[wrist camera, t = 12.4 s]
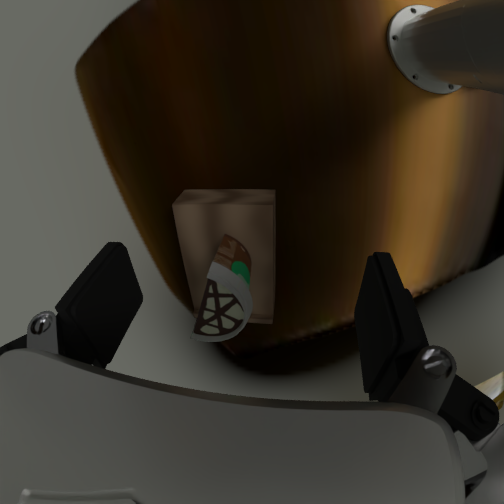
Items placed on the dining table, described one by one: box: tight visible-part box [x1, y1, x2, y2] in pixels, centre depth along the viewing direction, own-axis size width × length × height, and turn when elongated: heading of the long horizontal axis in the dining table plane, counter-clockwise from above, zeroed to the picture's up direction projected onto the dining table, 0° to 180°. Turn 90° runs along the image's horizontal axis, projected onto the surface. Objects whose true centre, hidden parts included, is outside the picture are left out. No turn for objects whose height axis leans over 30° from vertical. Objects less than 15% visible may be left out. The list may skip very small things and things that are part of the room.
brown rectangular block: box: [172, 189, 276, 324], centre depth 42 cm, size 13×20×6 cm, turn 2°
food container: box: [191, 234, 253, 342], centre depth 36 cm, size 12×6×10 cm, turn 163°
